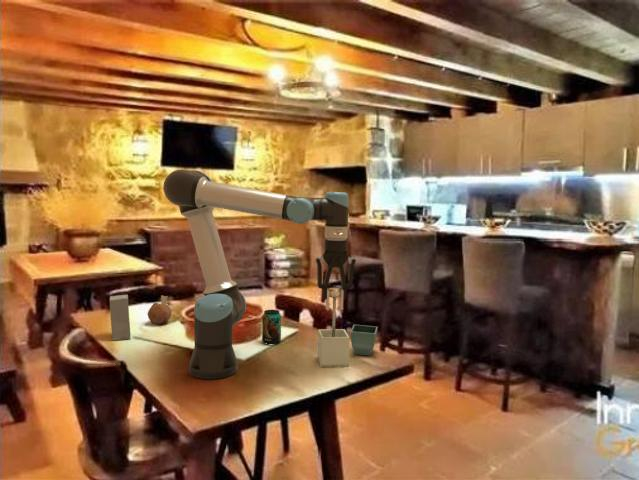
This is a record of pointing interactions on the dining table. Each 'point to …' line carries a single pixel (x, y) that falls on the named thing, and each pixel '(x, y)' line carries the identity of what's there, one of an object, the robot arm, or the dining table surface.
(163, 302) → the architectural model
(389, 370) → the dining table surface
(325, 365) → the cream square planter
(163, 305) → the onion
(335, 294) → the plunger
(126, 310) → the skincare box
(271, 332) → the beverage can
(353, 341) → the flower pot
